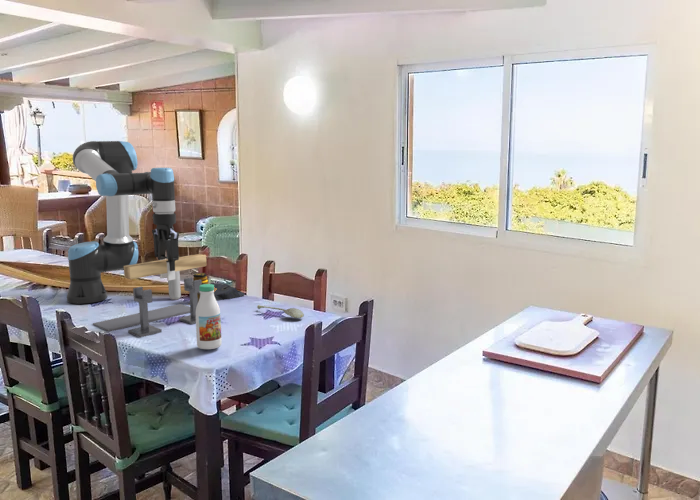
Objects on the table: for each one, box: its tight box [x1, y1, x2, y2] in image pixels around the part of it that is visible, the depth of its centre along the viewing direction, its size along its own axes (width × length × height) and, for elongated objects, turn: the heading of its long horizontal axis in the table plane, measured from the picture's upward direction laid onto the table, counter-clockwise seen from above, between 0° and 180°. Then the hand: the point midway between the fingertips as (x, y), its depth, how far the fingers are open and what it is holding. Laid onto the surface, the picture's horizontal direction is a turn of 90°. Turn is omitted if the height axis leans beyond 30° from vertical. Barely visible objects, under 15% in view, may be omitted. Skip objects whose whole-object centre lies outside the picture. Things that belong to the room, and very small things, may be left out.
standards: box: [127, 277, 202, 338], centre depth 214 cm, size 8×28×15 cm, turn 138°
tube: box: [167, 240, 182, 301], centre depth 251 cm, size 5×5×25 cm
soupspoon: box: [256, 304, 305, 319], centre depth 232 cm, size 22×3×7 cm
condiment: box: [186, 272, 209, 306], centre depth 247 cm, size 7×8×12 cm
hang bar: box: [123, 253, 208, 280], centre depth 212 cm, size 4×30×4 cm, turn 138°
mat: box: [92, 303, 190, 333], centre depth 226 cm, size 12×36×1 cm, turn 138°
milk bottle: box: [195, 283, 222, 350], centre depth 192 cm, size 8×8×20 cm
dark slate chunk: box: [209, 282, 246, 302], centre depth 263 cm, size 15×22×5 cm
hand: (167, 278), depth 213 cm, fingers closed on hang bar, 4 cm apart
